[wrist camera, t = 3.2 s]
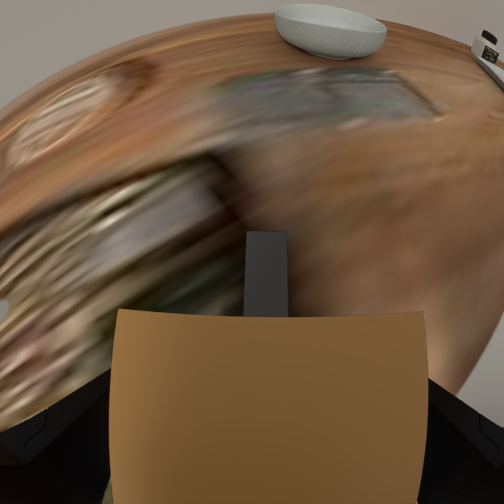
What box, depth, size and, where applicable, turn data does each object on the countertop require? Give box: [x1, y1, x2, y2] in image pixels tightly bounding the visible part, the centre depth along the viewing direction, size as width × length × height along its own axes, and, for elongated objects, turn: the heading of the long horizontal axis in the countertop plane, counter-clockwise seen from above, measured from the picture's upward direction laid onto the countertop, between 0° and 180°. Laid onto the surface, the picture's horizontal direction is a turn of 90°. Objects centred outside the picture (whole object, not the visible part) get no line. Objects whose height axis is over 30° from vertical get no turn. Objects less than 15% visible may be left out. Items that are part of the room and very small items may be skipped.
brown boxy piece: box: [109, 231, 428, 504], centre depth 10 cm, size 13×6×12 cm, turn 178°
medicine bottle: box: [470, 30, 499, 65], centre depth 41 cm, size 7×7×12 cm
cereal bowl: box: [274, 4, 387, 60], centre depth 30 cm, size 17×17×7 cm
